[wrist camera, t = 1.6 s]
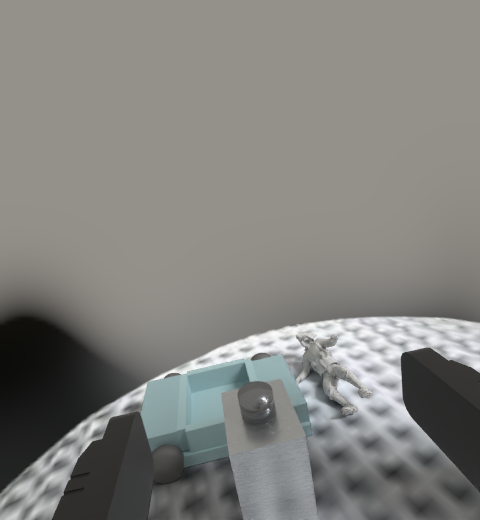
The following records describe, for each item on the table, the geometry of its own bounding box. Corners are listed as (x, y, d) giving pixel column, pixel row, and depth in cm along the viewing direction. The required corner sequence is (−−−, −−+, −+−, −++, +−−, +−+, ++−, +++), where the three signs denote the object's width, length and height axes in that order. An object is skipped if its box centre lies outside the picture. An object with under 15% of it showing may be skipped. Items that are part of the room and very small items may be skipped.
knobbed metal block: (295, 469, 28) (278, 360, 26) (321, 543, 22) (302, 414, 20) (240, 483, 28) (216, 375, 25) (253, 563, 22) (224, 433, 19)
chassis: (281, 369, 42) (278, 344, 41) (317, 444, 30) (312, 411, 29) (156, 399, 41) (149, 373, 40) (141, 490, 29) (130, 457, 28)
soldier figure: (322, 435, 32) (266, 351, 42) (347, 439, 35) (289, 360, 45) (375, 378, 31) (304, 304, 41) (396, 387, 34) (326, 316, 44)
